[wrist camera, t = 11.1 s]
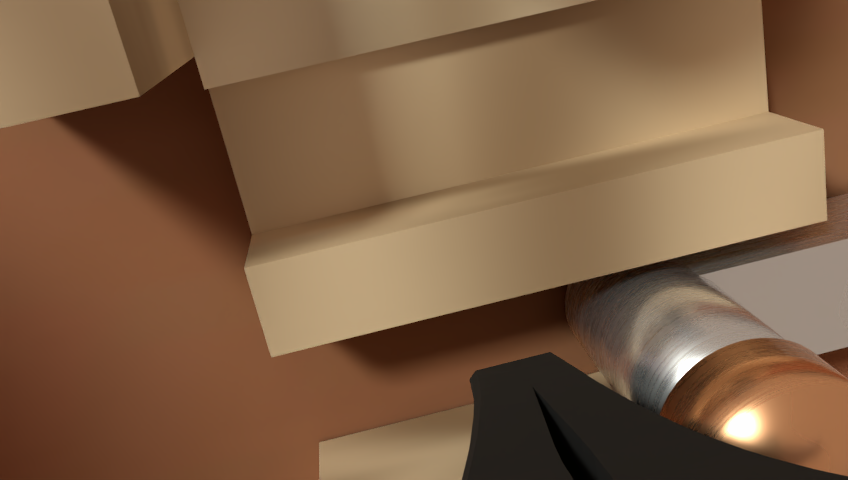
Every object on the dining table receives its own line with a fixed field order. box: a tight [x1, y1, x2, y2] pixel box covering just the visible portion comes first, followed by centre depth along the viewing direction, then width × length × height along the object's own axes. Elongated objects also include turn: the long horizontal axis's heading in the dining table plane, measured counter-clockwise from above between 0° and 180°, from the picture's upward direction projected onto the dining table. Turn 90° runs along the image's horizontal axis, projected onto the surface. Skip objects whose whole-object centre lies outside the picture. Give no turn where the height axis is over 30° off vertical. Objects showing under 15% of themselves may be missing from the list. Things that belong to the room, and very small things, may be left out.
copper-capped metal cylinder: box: [565, 193, 848, 476], centre depth 13 cm, size 7×3×6 cm, turn 102°
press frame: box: [0, 0, 827, 480], centre depth 11 cm, size 12×18×5 cm
